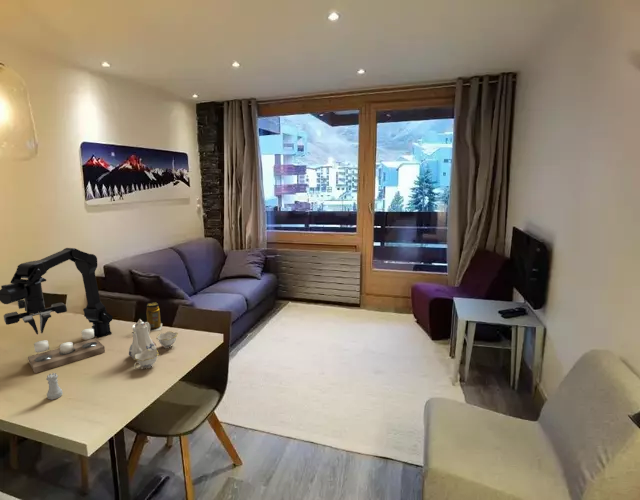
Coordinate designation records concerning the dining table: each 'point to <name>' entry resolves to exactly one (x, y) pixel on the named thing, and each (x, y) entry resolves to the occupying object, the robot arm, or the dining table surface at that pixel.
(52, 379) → the rook chess piece
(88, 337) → the knob
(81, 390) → the dining table surface
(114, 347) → the dining table surface
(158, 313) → the condiment
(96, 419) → the dining table surface
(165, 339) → the chinaware
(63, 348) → the knob mid
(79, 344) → the knob rail
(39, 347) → the knob
